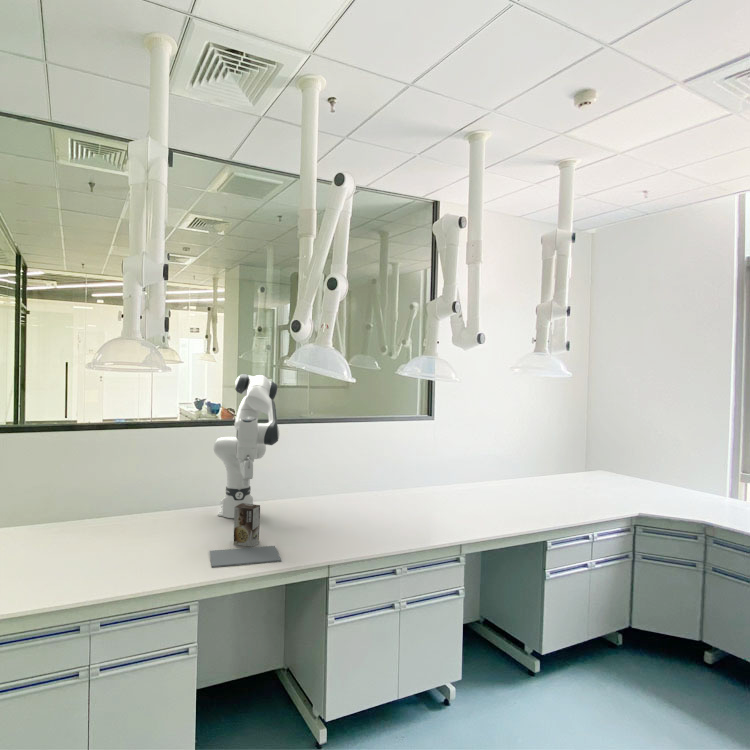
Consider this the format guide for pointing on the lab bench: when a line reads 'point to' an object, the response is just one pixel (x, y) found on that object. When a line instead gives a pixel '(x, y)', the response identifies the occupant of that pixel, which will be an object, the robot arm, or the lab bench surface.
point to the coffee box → (246, 524)
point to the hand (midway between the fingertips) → (245, 485)
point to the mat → (244, 556)
